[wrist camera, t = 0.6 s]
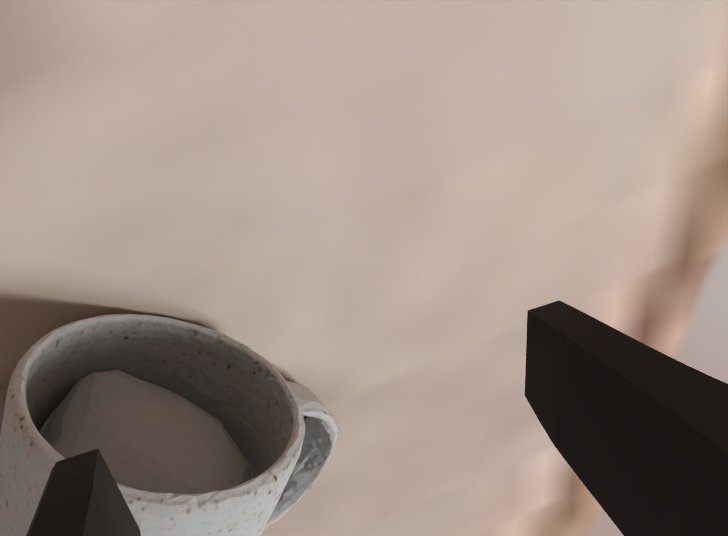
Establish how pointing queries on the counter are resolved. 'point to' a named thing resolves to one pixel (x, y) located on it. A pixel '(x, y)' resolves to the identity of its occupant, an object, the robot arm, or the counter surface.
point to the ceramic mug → (162, 426)
